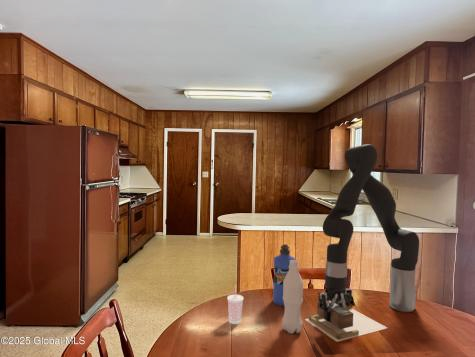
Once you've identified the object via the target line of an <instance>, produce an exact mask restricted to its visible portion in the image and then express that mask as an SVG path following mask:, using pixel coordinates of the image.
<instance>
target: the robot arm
mask: <svg viewBox="0 0 475 357" xmlns="http://www.w3.org/2000/svg"><path fill="white" fill-rule="evenodd" d="M344 161H345V163H346V166H347V167H348V169H349V171H350V173H351V174H352V176H351V177H350V179H349V180H348V181H347V182H346V183H345V184H344V185H343V186H342V188H340V189H341V190H339V194H338V196H337V198H336V201H335V205H334V206H333V208H332V209H331V210H330V212H329V213H328V214H327V216H326V217H325V219H324V221H323V223H322V232H323V234H324V235H325V236H326V237H331V238H335V239H339V241H338V243H337V242H335V243H329V244H328V245H327V246H326V261H325V269H324V270H325V275H324V285H325V290H324V291H323V292H318V293H317V294H318V302H319V307H320V309H322V310H324V319H325V320H326V321H327V322H330V317H331V312H330V311H331V308H332V306H334V303H335V302H338V304H339V306H341V307H343V308H345V309H347V307H350V305H351V302H350V301H351V295H352V296H353V291H352V289H350V288H347V286H348V250H349V245H350V242H351V240H352V237H353V235H354V234H353V233H354V224H353V222H352V221H351V220H349V219H345V218H347V217H351V216H353V215H354V213H355V210H356V207H357V204H358V201H359V198H360V195H361V192H363V193H364V194H365V197H366V199H367V201H368V203H369V205H370V207H371V209H372V210H373V212H374V214H375V215H376V217H377V218H376V219H377V220H378V222H379V223H380V226H381V228H382V230H383V233H384V237H385V239H386V241H387V243H388V245H389V247H390V248H392V249H394V250H395V251H399V252H400V257H395V258H392V259H391V262H390V282H389V283H390V284H389V307H390V308H391V309H393V310H396V311H398V312H403V313H412V312H413V311H414V310H415V309H416V300H417V299H416V297H417V296H416V294H417V293H416V292H417V286H416V266H417V263H418V261H419V251H420V238H419V235H418V234H417V232H415V231H412V230H407V229H402V228H401V227H400V226H399V224H398V222H397V221H396V217H395V216H396V211H397V203H396V200H395V198H394V196H393V194H392V192H391V190H390V189H389V188H388V187H387V186H386V185H385V184H384V183H382V182H381V181H380V180H379V179H377V178H376V177H374V176H373V175H372V172H373V170H374V168H375V167H376V164H377V161H378V152H377V149H376V147H375V146H374V145H372V144H370V143H369V144H362V145H357V146H353V147H349V148H347V149H346V150H345V152H344ZM329 300H330V301H331V302H329ZM346 300H347V302H346ZM328 304H329V306H328ZM327 306H328V307H327Z"/></svg>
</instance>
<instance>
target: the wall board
mask: <svg viewBox="0 0 475 357" xmlns="http://www.w3.org/2000/svg"><path fill="white" fill-rule="evenodd" d="M347 310H348V311H350V312H352V313H353V326H352V327H348V328H344V329H339V328H337V327H336V326H334V325H333V324H331V323H330V322H327V321H326V320H325V319H323V318H322V317H320V316H319V315H317V314H314V315H309V316H308V318H305V319H304V320H305V321H306V322H308V323H309V324H311V325H312V326H313V327H315V328H316V329H318V330H320V331H321V332H322V333H324V334H325V336H328V337H329V338H330V339H332V340H334V341H335V342H336V343H338V342H342V341H345V340H349V339H353V338H356V337H360V336H363V335H367V334H371V333H375V332H378V331H383V330H386V329H388V327H387V326H385V325H384V324H382V323H379V322H377V321H376V320H374V319H372V318H370V317H368V316H367V315H365V314H362V313H360V312H359V311H357V310H355V309H353V308H350V309H347Z"/></svg>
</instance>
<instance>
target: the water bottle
mask: <svg viewBox="0 0 475 357" xmlns="http://www.w3.org/2000/svg"><path fill="white" fill-rule="evenodd" d="M299 268H300V267H299V260H290V265H289V271H288V273H287V275H286V277H285V279H284V281H283V301H284V306H283V307H284V312H283V313H284V314H283V317H282V319H281V324H282V329H283V330H284V331H285V332H286V333H288V334H289V335H291V334H294V333H296V334H298V333H300V332H301V330H302V328H303V320H302V318H301V317H302V316H301V307H302V304H303V303H304V298H303V297H304V296H303V295H304V294H303V293H304V281H303V278H302V277H301V275H300V272H299Z"/></svg>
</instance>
